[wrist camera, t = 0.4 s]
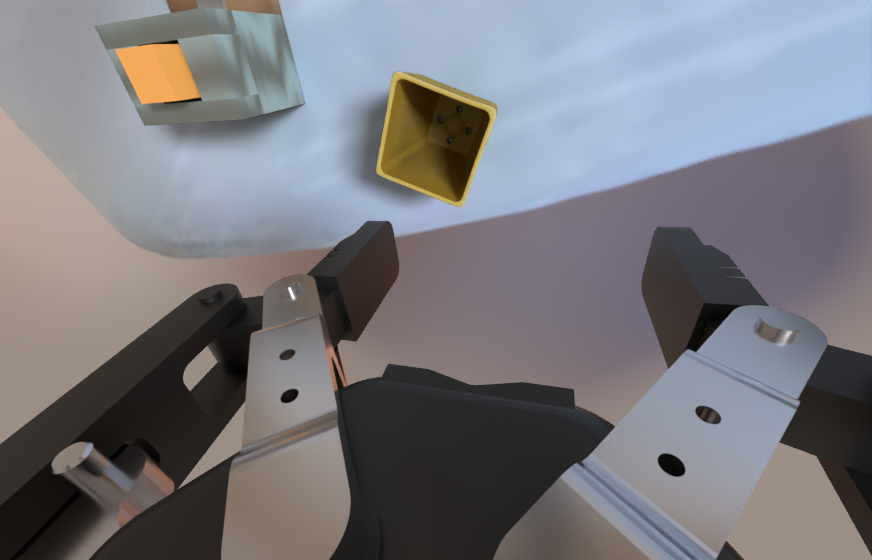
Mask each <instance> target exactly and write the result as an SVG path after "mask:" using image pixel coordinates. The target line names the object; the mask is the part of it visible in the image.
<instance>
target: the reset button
mask: <svg viewBox="0 0 872 560" xmlns="http://www.w3.org/2000/svg"><path fill="white" fill-rule="evenodd" d="M115 51H116V53H117V55H118V57H119V59H120V61H121V63H122V65H123V67H124V69H125V71H126V73H127V75H128V77H129V79H130V81H131V83H132V85H133V87H134V89H135V91H136V94H137V96H138V98H139V100H140V102H141V104H148V103H160V102H171V101H180V100H186V99H192V98H199V97H201V96H200V94H199V91H198V89H197V86H196V84H195V82H194V79H193V77H192V74H191V72H190V69H189V67H188V64H187V62H186V59H185V57H184V54H183V52H182V49H181V47H180V44H150V45H144V46H137V47H130V48H123V49H116V50H115Z"/></svg>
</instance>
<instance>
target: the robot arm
mask: <svg viewBox="0 0 872 560" xmlns="http://www.w3.org/2000/svg"><path fill="white" fill-rule="evenodd" d="M737 268H738V267H737V266H736V264H735V263H734V262H733V261H732V259H731V258H730V257H729V256H728V255H726V254H725V253H723V252H721V251H720V250H718V249H716V248H715V247H713V246H711V245H703V244H702V242H701V241H700V240H699V238H698V237H697V235H696V234H695V233H694V231H693V230H692V229H691V228H690V227H657V228H656V230H655V232H654V234H653V238H652V242H651V245H650V249H649V253H648V257H647V261H646V264H645V268H644V272H643V276H642V295H643V298H644V301H645V304H646V307H647V309H648V312H649V315H650V318H651V321H652V324H653V327H654V329H655V332H656V335H657V338H658V341H659V344H660V347H661V349H662V352H663V355H664V358H665V361H666V364H667V366H668V370H667V371H666V373H665V374H664V375H663V376H662V377H661V378H660V379H659V380H658V381H657V382H656V383H655V385H654V386H653V387H652V388H651V389H650V390H649V391H648V392H647V393H646V394H645V395H644V396H643V398H642V399H641V400H640V401H639V402H638V403H637V404H636V405H635V406H634V407H633V408H632V409H631V411H630V412H629V413H628V414H627V415H626V416H625V417H624V418H623V419H622V420H621V421H620V423H619V424H618V425H617V426H616V427H615V426H613V425H612V424H611V423H609V422H608V421H606V420H604V419H603V418H601V417H599V416H598V415H596V414H594V413H592V412H590V411H588V410H586V409H583V408H580V407H578V406H576V405H575V401H574V390H573V389H568V388H560V387H553V386H546V385H539V384H531V383H524V382H521V383H506V384H490V385H469V384H466V383H464V382H461V381H458V380H455V379H453V378H450V377H448V376H445V375H442V374H440V373H437V372H435V371H432V370H429V369H422V368H415V367H408V366H401V365H394V364H388V365H387V367H386V369H385V371H384V374H383V375H382V377H376V378H371V379H366V380H362V381H359V382H356V383H354V384H351V385H348V382H347V378H346V374H345V369H344V366H343V361H342V358H341V353H340V350H339V347H338V343H339V342H340V340H349V341H357V340H358V338H359V337H360V335H361V334H362V332H363V331H364V329H365V327H366V326H367V324H368V323H369V321H370V320H371V318H372V316H373V315H374V313H375V312H376V310H377V309H378V307H379V305H380V304H381V302H382V301H383V299H384V298H385V296H386V294H387V293H388V291H389V290H390V288H391V287H392V285H393V283H394V282H395V280H396V278H397V276H398V272H399V260H398V255H397V249H396V243H395V238H394V233H393V228H392V225H391V223H390V222H389V221H367V222H366V223H365V224H364V225H363V226H362V227H361V228H360V229H359V230H358V231H357V232H356V233H355V234H353V235H351V236H349V237H348V238H346V239H344V240H342V241H341V242H340V243H339V244H338V245H337V246H336V247H335V248H334V249H333V250H332V251H330V252H329V253H328V255H327V257H324V259H322V260H321V261H320V262H319V263H318V264H317V265H316V266H315V267H314V268H313V269H312V270H311V271H310V272H309V273H308V274H307V275H302V274H301V275H292V276H288V277H285V278H283V279H280V280H278V281H276V282H275V283H273V284H272V285H270V286H269V287H268V288H267V289H266V290H265V292H264V295H263V296H257V297H250V298H243V297H242V295H241V293H240V291H239V289H238V288H237V286H235V285H233V284H219V285H214V286H211V287H208V288H205V289H203V290H201V291H199V292H197V293H196V294H194V295H192V296H191V297H190V298H188V299H187V300H186V301H184V302H183V303H182V304H181V305H179V306H178V307H177V308H175V309H174V310H173V311H171V312H170V313H169V314H168V315H166V316H165V317H164V318H162V319H161V320H160V321H159V322H158V323H156V324H155V325H154V326H152V327H151V328H150V329H148V330H147V331H146V332H144V333H143V334H142V335H140V336H139V337H138V338H137V339H136V340H134V341H133V342H131V343H130V344H129V345H128V346H126V347H125V348H124V349H122V350H121V351H120V352H119V353H118V354H116V355H115V356H113V357H112V358H111V359H110V360H108V361H107V362H106V363H104V364H103V365H102V366H100V367H99V368H98V369H97V370H95V371H94V372H93V373H91V374H90V375H89V376H88V377H86V378H85V379H84V380H83V381H81V382H80V383H79V384H77V385H76V386H75V387H73V388H72V389H71V390H69V391H68V392H67V393H66V394H64V395H63V396H62V397H60V398H59V399H58V400H57V401H55V402H54V403H53V404H52V405H50V406H49V407H48V408H46V409H45V410H44V411H42V412H41V413H40V414H39V415H37V416H36V417H35V418H33V419H32V420H31V421H29V422H28V423H27V424H26V425H24V426H23V427H22V428H20V429H19V430H18V431H17V432H16V433H14V434H13V435H11V436H10V437H9V438H8V439H6V440H5V441H4V442H2V443H1V444H0V560H744V559H743V558H742V557H741V556H740V555H739V554H738V553H737V551H736V550H735V549H734V548H733V547H732V546H731V545H730V544H729V543H728V542H727V541H726V540H727V538H728V536H729V534H730V532H731V530H732V529H733V527H734V525H735V523H736V521H737V519H738V517H739V516H740V513H741V512H742V510H743V508H744V506H745V504H746V503H747V501H748V499H749V497H750V495H751V493H752V491H753V489H754V488H755V486H756V484H757V482H758V480H759V478H760V477H761V475H762V473H763V471H764V469H765V467H766V465H767V463H768V462H769V460H770V458H771V456H772V454H773V453H774V451H775V449H776V447H777V445H778V443H779V442H780V443H783V444H786V445H788V446H791V447H794V448H797V449H799V450H802V451H804V452H807V453H810V454H813V455H815V456H817V458H818V460H819V461H820V464H821V465H822V467H823V469H824V471H825V473H826V474H827V476H828V478H829V480H830V482H831V483H832V485H833V487H834V489H835V491H836V492H837V494H838V496H839V497H840V500H841V501H842V503H843V505H844V507H845V508H846V510H847V512H848V514H849V516H850V518H851V519H852V521H853V523H854V525H855V527H856V528H857V530H858V532H859V533H860V535H861V537H862V539H863V541H864V543H865V544H866V546H867V548H868V550H869V552H870V553H871V555H872V356H870V355H866V354H862V353H858V352H854V351H850V350H846V349H842V348H838V347H834V346H831V345H827V343H828V342H827V338H826V336H825V334H824V333H823V332H822V331H821V330H820V329H819V328H818V327H817V326H816V325H814V324H813V323H811V322H810V321H808V320H806V319H805V318H803V317H801V316H798V315H796V314H793V313H791V312H788V311H785V310H782V309H778V308H774V307H769V305H768V304H767V303H766V302H765V301H764V299H763V298H762V297H761V295H760V294H759V293H758V292H757V291H756V289H755V288H754V287H753V286H752V284H751V283H750V282H749V281H748V279H745V276H744V274H743V273H742V272H741V271H740V270H739V269H737ZM206 346H208V348H209V349H210V351H211V352H212V354H213V356H214V357H215V359H216V360H217V364H216V365H215V366H214V367H213V368H212V369H211V370H210V371H209V372H208V373H207V374H206V375H205V376H204V377H203V378H202V379H201V381H200V382H199V383H198V384H197V385H196V386H195V387H194V388H193V389H192V390H191V391H189V390H188V388H187V387H186V386H185V384H184V382H183V373H184V370H185V368H186V367H187V365H188V364H189V363H190V362H191V361H192V359H194V358H195V357H196V356H197V355H198V354H199V353H200V352H201V351H202V350H203V349H204V348H205V347H206ZM244 402H245V412H244V425H243V438H242V447H241V450H240V451H239V452H238V453H236V454H234V455H233V456H231V457H229V458H228V459H226V460H225V461H223V462H221V463H220V464H218V465H216V466H215V467H213V468H212V469H210V470H208V471H207V472H205V473H204V474H202V475H200V476H199V477H197V478H196V479H194V480H192V481H191V482H189V483H188V484H186V485H184V486H183V487H181V488H179V486H180V485H181V484H182V482H183V481H184V480H185V479H186V477H187V476H188V474H189V473H190V472H191V471H192V469H193V468H194V467H195V466H196V464H197V463H198V462H199V460H200V459H201V458H202V456H203V455H204V454H205V453H206V451H207V450H208V448H209V447H210V446H211V445H212V443H213V442H214V441H215V439H216V438H217V437H218V436H219V434H220V433H221V432H222V430H223V429H224V428H225V427H226V425H227V424H228V423H229V421H230V420H231V419H232V417H233V416H234V415H235V413H236V412H237V411H238V410H239V408H240V407H241V406H242V404H243V403H244ZM178 488H179V489H178ZM177 489H178V490H177Z"/></svg>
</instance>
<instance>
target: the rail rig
mask: <svg viewBox="0 0 872 560" xmlns="http://www.w3.org/2000/svg"><path fill="white" fill-rule="evenodd" d="M167 3H168V5H169V8H170V10H171V13H169V14H163V15H158V16H152V17H146V18H141V19H135V20H129V21H123V22H118V23H112V24H106V25H100V26H95V28H96V30H97V32H98V34H99V36H100V38H101V40H102V42H103V44H104V46H105V48H106V50H107V52H108V54H109V56H110V58H111V60H112V62H113V64H114V66H115V68H116V70H117V72H118V74H119V76H120V78H121V80H122V82H123V84H124V86H125V88H126V90H127V92H128V94H129V96H130V98H131V100H132V102H133V104H134V106H135V108H136V110H137V112H138V114H139V116H140V118H141V120H142V122H143V124H144V126H147V125H162V124H178V123H194V122H210V121H225V120H241V119H247V118H250V117H254V116H258V115H262V114H266V113H270V112H274V111H278V110H282V109H286V108H290V107H294V106H298V105H302V104H305V101H304V97H303V93H302V89H301V86H300V82H299V78H298V74H297V70H296V66H295V63H294V59H293V55H292V51H291V47H290V44H289V40H288V36H287V32H286V28H285V25H284V21H283V17H282V13H281V9H280V6H279V2H278V0H167ZM150 44H180V47H181V49H182V52H183V54H184V57H185V59H186V62H187V64H188V67H189V69H190V72H191V74H192V77H193V79H194V82H195V84H196V86H197V89H198V91H199V94H200V96H201V97H199V98H192V99H186V100H180V101H171V102H160V103H148V104H141V102H140V100H139V98H138V96H137V94H136V91H135V89H134V87H133V85H132V83H131V81H130V79H129V77H128V75H127V73H126V71H125V69H124V67H123V65H122V63H121V61H120V59H119V57H118V55H117V53H116V51H115V50H116V49H123V48H130V47H137V46H144V45H150Z"/></svg>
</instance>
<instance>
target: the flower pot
mask: <svg viewBox="0 0 872 560" xmlns="http://www.w3.org/2000/svg"><path fill="white" fill-rule="evenodd" d="M459 106H461V107H462V112H458V111H457V108H458V107H459ZM496 115H497V105H496V104H495V103H493V102H491V101H488V100H485V99H482V98H480V97H477V96H474V95H471V94H469V93H466V92H463V91H461V90H458V89H456V88H453V87H450V86H448V85H445V84H443V83H440V82H438V81H435V80H433V79H430V78H428V77H426V76H423V75H419V74H413V73H406V72H400V71H397V72H394V73H393V76H392V80H391V86H390V92H389V98H388V104H387V110H386V116H385V121H384V127H383V132H382V138H381V144H380V149H379V154H378V160H377V166H376V173H377V174H378V175H380V176H381V177H383V178H386V179H388V180H391V181H393V182H396V183H398V184H401V185H403V186H406V187H408V188H411V189H413V190H416V191H418V192H421V193H423V194H426V195H428V196H431V197H433V198H436V199H438V200H440V201H443V202H445V203H448V204H450V205H453V206H457V207H462V206H463V205H464V203H465V201H466V198H467V195H468V192H469V190H470V187H471V184H472V181H473V178H474V175H475V173H476V170H477V167H478V164H479V161H480V159H481V156H482V153H483V150H484V148H485V145H486V142H487V140H488V137H489V134H490V132H491V129H492V127H493V124H494V122H495V119H496ZM439 117H442V118H443V122H442V123H440V122H439V121H438V118H439ZM468 128H471V130H472V132H471V133H470V134H468V133H467V132H466V130H467V129H468ZM448 138H452V140H453V142H452V143H448Z"/></svg>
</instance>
